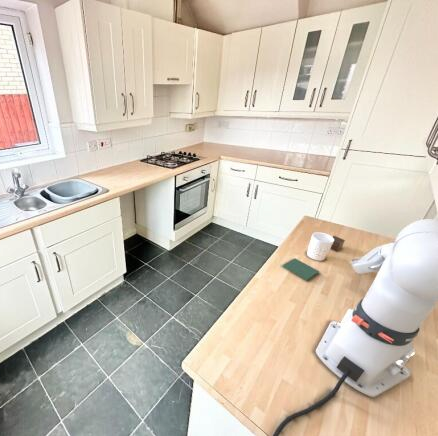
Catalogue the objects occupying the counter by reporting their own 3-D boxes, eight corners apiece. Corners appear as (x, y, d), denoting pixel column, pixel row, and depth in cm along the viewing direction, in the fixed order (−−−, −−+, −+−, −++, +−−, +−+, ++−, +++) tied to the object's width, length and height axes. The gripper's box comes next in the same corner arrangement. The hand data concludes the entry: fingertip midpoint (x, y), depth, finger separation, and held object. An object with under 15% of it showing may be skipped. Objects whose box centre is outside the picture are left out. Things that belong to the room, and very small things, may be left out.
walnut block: (336, 251, 110) (340, 243, 108) (325, 246, 113) (329, 238, 111) (341, 248, 112) (345, 240, 110) (330, 243, 115) (334, 235, 113)
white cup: (324, 253, 109) (332, 234, 104) (327, 263, 102) (335, 244, 98) (304, 249, 112) (311, 230, 107) (305, 258, 106) (313, 239, 101)
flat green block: (307, 281, 94) (307, 278, 93) (282, 266, 101) (283, 264, 101) (318, 273, 97) (319, 271, 97) (294, 260, 105) (294, 258, 104)
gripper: (389, 275, 78) (343, 280, 90) (411, 254, 87) (367, 261, 99) (378, 257, 79) (334, 264, 91) (401, 238, 88) (359, 247, 100)
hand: (352, 262), depth 95 cm, fingers closed
